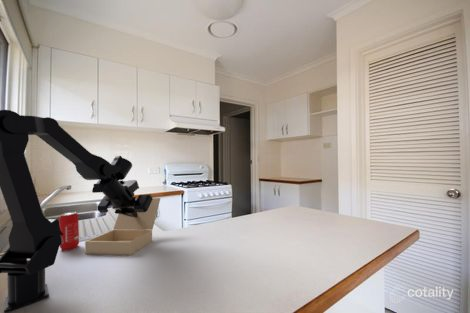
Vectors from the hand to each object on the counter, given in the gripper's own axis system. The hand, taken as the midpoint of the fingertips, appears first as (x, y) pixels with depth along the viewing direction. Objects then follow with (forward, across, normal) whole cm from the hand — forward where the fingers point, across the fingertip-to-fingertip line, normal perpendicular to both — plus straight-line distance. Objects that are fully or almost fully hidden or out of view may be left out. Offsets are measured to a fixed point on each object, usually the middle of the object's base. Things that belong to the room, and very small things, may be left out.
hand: (136, 216), depth 81 cm
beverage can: (-1, +19, +13) cm, 23 cm away
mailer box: (0, 0, +12) cm, 12 cm away
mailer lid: (0, 0, -1) cm, 1 cm away
